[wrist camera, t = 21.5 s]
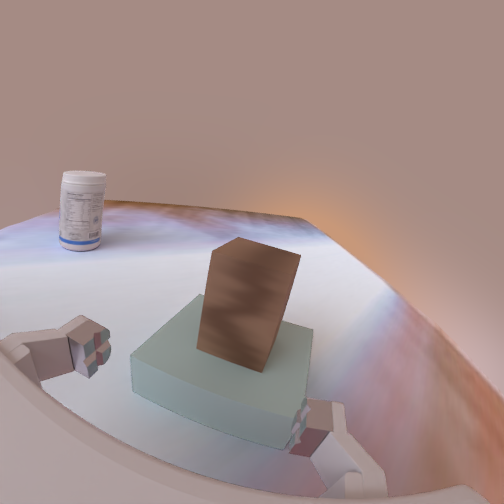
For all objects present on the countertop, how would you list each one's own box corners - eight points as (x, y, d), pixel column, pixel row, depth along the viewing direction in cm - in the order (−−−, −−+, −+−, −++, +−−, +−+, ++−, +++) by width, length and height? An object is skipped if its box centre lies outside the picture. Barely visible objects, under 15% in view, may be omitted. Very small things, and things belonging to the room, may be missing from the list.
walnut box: (196, 348, 22) (212, 251, 20) (221, 319, 28) (238, 236, 25) (261, 373, 21) (292, 275, 19) (276, 338, 27) (301, 255, 24)
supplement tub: (63, 236, 50) (67, 169, 45) (101, 238, 54) (108, 172, 50) (55, 251, 42) (58, 173, 38) (99, 253, 46) (106, 176, 42)
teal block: (133, 394, 21) (130, 355, 19) (194, 327, 34) (199, 294, 32) (281, 452, 18) (301, 420, 17) (300, 362, 31) (313, 329, 30)
